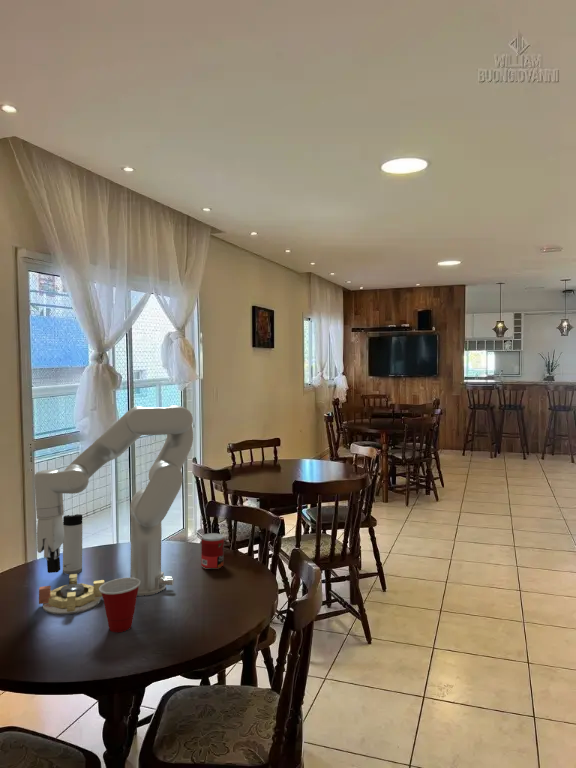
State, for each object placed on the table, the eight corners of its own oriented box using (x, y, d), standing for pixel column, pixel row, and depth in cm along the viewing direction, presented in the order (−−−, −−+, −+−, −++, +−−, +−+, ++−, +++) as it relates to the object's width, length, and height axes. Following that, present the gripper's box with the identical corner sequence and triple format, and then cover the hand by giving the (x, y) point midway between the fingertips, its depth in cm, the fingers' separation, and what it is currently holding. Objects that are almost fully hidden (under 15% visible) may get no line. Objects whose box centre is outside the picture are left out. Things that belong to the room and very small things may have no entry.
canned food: (222, 570, 190) (222, 539, 190) (199, 570, 190) (199, 539, 190) (224, 563, 197) (225, 533, 197) (203, 562, 198) (203, 532, 197)
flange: (109, 593, 169) (109, 579, 169) (86, 615, 153) (86, 600, 153) (57, 591, 170) (57, 577, 170) (30, 613, 154) (30, 597, 154)
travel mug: (63, 576, 183) (64, 517, 182) (61, 569, 188) (62, 512, 188) (83, 573, 185) (83, 515, 185) (80, 567, 191) (81, 510, 191)
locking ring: (73, 586, 171) (73, 572, 171) (107, 594, 165) (107, 580, 165) (35, 603, 158) (35, 588, 158) (70, 612, 152) (71, 597, 152)
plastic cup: (107, 618, 151) (107, 575, 151) (145, 619, 151) (145, 576, 151) (91, 636, 141) (92, 590, 140) (133, 637, 140) (133, 591, 140)
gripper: (46, 505, 169) (50, 563, 170) (27, 519, 155) (31, 582, 155) (71, 504, 170) (74, 561, 171) (53, 517, 155) (58, 580, 156)
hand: (54, 571), depth 163 cm, fingers closed
